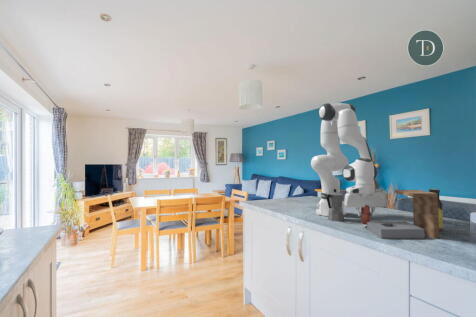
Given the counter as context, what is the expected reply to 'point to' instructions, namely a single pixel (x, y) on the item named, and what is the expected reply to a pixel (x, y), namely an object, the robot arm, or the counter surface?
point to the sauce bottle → (439, 208)
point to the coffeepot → (335, 206)
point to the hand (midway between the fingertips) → (365, 215)
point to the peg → (365, 214)
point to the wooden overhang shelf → (424, 210)
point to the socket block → (395, 229)
